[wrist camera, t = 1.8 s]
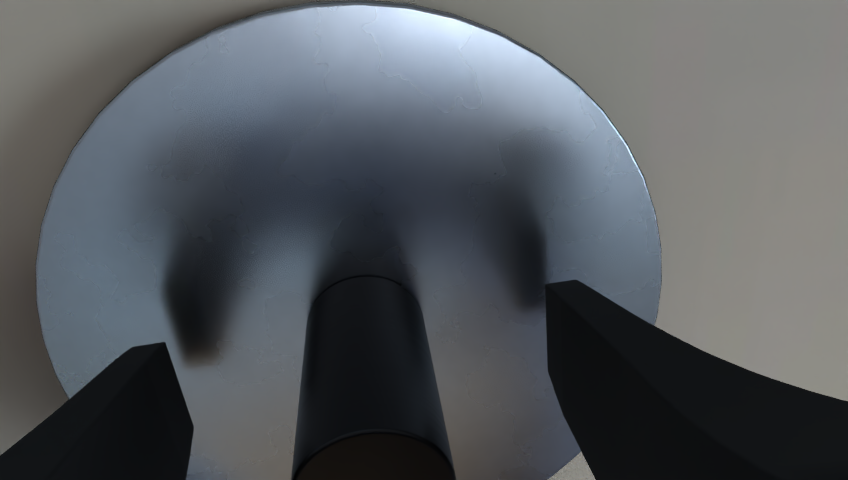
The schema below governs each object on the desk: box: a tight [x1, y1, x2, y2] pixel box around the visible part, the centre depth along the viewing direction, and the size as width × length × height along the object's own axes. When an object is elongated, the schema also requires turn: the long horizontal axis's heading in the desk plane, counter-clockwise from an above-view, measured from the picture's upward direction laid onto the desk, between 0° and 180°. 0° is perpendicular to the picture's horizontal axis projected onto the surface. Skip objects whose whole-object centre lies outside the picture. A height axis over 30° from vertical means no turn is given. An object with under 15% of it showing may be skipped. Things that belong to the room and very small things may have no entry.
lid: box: [36, 0, 662, 480], centre depth 12 cm, size 13×13×6 cm
